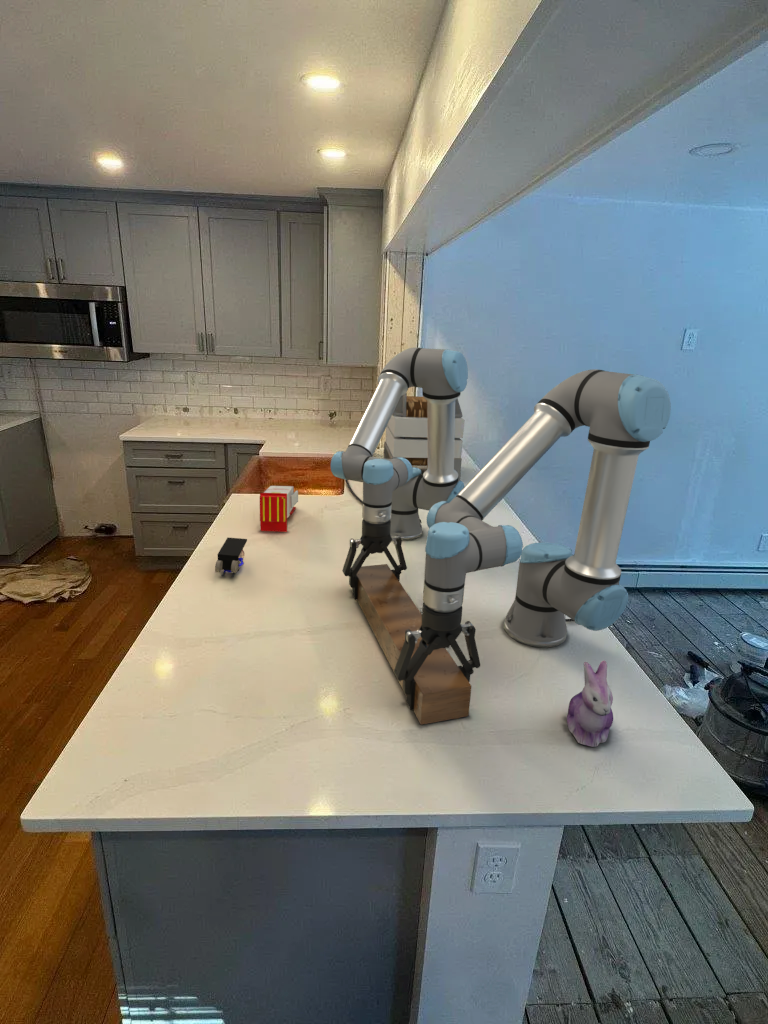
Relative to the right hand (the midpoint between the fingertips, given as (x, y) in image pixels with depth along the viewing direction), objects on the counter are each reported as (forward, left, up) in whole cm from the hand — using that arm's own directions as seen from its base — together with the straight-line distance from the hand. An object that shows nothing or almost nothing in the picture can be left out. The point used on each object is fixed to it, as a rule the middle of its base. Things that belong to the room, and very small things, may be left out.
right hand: (435, 700), depth 114 cm
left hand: (-23, -39, 0) cm, 45 cm away
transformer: (-129, -112, -1) cm, 171 cm away
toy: (-40, -105, -1) cm, 113 cm away
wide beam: (-11, -20, -1) cm, 23 cm away
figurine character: (-4, -80, -1) cm, 80 cm away
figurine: (-15, +26, -1) cm, 30 cm away
